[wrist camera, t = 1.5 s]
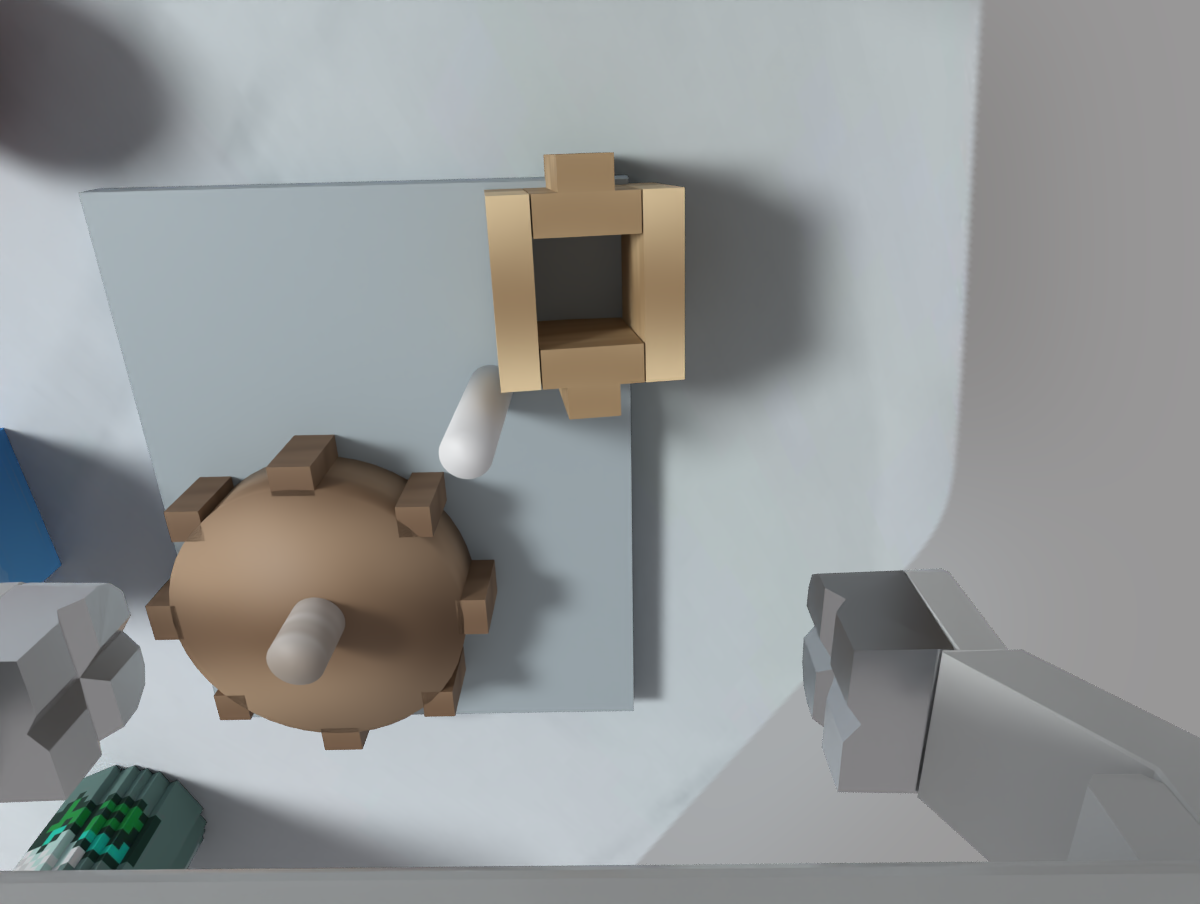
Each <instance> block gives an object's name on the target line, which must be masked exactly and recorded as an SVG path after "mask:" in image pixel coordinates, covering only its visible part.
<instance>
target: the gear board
mask: <svg viewBox="0 0 1200 904" xmlns="http://www.w3.org/2000/svg"><path fill="white" fill-rule="evenodd" d="M614 180H615V185H622V184H628V176H627V175H614ZM542 187H546V181H545V177H531V178H492V179H453V180H413V181H374V182H335V183H296V184H257V185H218V186H178V187H139V188H100V189H94V190H89V191H84V192H79V197H80V201H81V204H82V208H83V212H84V215H85V219H86V223H87V226H88V230H89V234H90V237H91V241H92V245H93V248H94V252H95V256H96V259H97V263H98V267H99V270H100V274H101V278H102V281H103V285H104V289H105V292H106V296H107V300H108V303H109V307H110V311H111V314H112V318H113V322H114V326H115V329H116V333H117V337H118V340H119V344H120V348H121V351H122V355H123V359H124V362H125V366H126V370H127V373H128V377H129V381H130V384H131V388H132V392H133V395H134V399H135V403H136V406H137V410H138V414H139V417H140V421H141V425H142V428H143V432H144V436H145V439H146V443H147V447H148V450H149V454H150V458H151V461H152V465H153V469H154V472H155V476H156V480H157V483H158V487H159V491H160V495H161V498H162V502H163V506H164V509H165V510H166V509H167V508H168V507H169V506H170V505H171V504H172V503H173V502H174V501H175V500H177V499H178V498H179V497H180V496H181V495H182V494H183V493H184V492H185V491H186V490H187V489H188V488H189V487H190V486H191V485H192V484H193V483H194V482H195V481H196V480H197V479H198V478H199V477H223V476H231V477H232V482H233V486H234V487H235V486H236V485H237V484H238V483H240V482H241V481H242V480H244V479H245V478H247V477H248V476H249V475H251V474H253V473H255V472H257V471H259V470H260V469H262V468H264V467H267V466H268V464H269V463H270V462H271V461H272V460H273V459H274V458H275V456H276V455H277V454H278V453H279V452H280V451H281V450H282V449H283V447H284V446H285V445H286V444H287V443H288V442H289V441H290V440H291V438H292V437H293V436H294V435H335V440H336V446H337V452H338V457H343V458H349V459H356V460H359V461H363V462H367V463H370V464H374V465H377V466H379V467H382V468H384V469H387V470H389V471H392V472H394V473H396V474H397V475H399V476H401V477H403V478H405V479H407V480H409V478H410V476H411V474H412V473H416V472H444V479H445V488H446V497H447V501H446V504H445V507H444V509H443V510H444V511H445V512H446V513H447V514H448V515H449V516H450V518H451V519H452V521H453V522H454V524H455V525H456V527H457V528H458V530H459V531H460V533H461V535H462V537H463V539H464V541H465V543H466V545H467V547H468V550H469V553H470V556H471V559H472V560H495V571H496V582H497V596H496V600H495V605H494V610H493V615H492V620H491V624H490V629H489V634H466V636H465V640H464V644H463V647H464V656H465V665H466V672H465V676H464V681H463V685H462V689H461V693H460V698H459V702H458V706H457V710H456V714H473V713H532V712H592V711H634V690H633V590H632V491H631V392H630V383H629V384H620V390H621V416H610V417H597V418H584V419H571V420H569V417H568V414H567V411H566V408H565V405H564V402H563V399H562V397H561V394H560V391H559V389H547V390H543V388H542V385H541V390H533V391H519V392H505V393H501V387H500V377H499V366H498V355H497V343H496V331H495V318H494V306H493V294H492V281H491V269H490V257H489V244H488V232H487V220H486V207H485V195H484V190H491V189H516V188H521V189H523V188H542ZM532 251H533V266H534V282H535V298H536V314H537V321H549V320H565V319H590V318H619V317H621V318H622V259H621V235H601V236H581V237H562V238H542V239H533V237H532ZM183 544H184V542H174V546H175V550H176V553H177V555H178V553H179V551H180V549H181V547H182V545H183ZM212 686H213V689H214V693H216V692H217V690H218V689H217V688H216V687H215V686H214V685H213V684H212ZM414 714H424V709H423V708H422V709H420V710H419V711H417V712H415V713H414ZM412 715H413V714H412ZM252 717H261V716H259V715H257V714H255V713H254V714H253V716H252Z"/></svg>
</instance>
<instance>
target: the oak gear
mask: <svg viewBox="0 0 1200 904" xmlns="http://www.w3.org/2000/svg"><path fill="white" fill-rule="evenodd" d="M544 171H545V181H546V187H542V188H523V189H521V188H516V189H491V190H484V195H485V207H486V220H487V232H488V244H489V257H490V269H491V281H492V294H493V306H494V318H495V331H496V343H497V355H498V366H499V377H500V387H501V393H505V392H519V391H533V390H541V385H542V388H543V390H547V389H559V391H560V394H561V397H562V399H563V402H564V405H565V408H566V411H567V414H568V417H569V420H571V419H584V418H597V417H610V416H621V390H620V384H629V383H643V382H645V381H646V382H657V381H671V380H684V379H685V187H679V186H672V185H666V184H660V183H653V182H652V183H629V184H622V185H615V180H614V152H613V153H576V154H550V155H544ZM601 235H621V259H622V318H621V317H619V318H590V319H565V320H549V321H537V314H536V298H535V282H534V266H533V251H532V237H533V239H542V238H562V237H581V236H601Z"/></svg>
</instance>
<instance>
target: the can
mask: <svg viewBox="0 0 1200 904" xmlns="http://www.w3.org/2000/svg"><path fill="white" fill-rule="evenodd" d="M202 810H203V808H202V806H201V805H200V804H199V803H198V802H197V801H196V800H195V799H194V798H193V797H192V796H191V795H190V794H189V792H188V791H187V790H186V789H185V788H184V787H183V786H182V785H181V784H180V783H179V782H178V781H177V780H176V781H174V782H171V783H170V782H169V781H168V780H167V779H166V778H165V777H164V776H163V775H162V774H161V772H160V771H159V772H157V773H154V774H152V773H151V772H150V771H149V770H148V769H144V770H142V771H140V770H139V769H138V768H137V767H136V766H135V765H134V766H132V767H129V768H127V769H125V770H122V771H121V770H120V769H119V768H118V767H117V766H116V765H115V766H112V767H110V768H107V769H105V770H103V771H100V772H98V773H95V774H93V775H91V776H88V777H86V778H83V780H82V781H81V782H80V783H79V785H78V786H77V787H76V788H75V790H74V791H73V792H72V793H71V795H70V796H69V797H68V799H67V800H66V801H65V802H64V803H63V805H62V806H61V807H60V809H59V810H58V811H57V813H56V814H55V815H54V817H53V818H52V819H51V821H50V822H49V823H48V825H47V826H46V827H45V829H44V830H43V831H42V832H41V834H40V835H39V836H38V838H37V839H36V840H35V842H34V843H33V844H32V846H31V847H30V848H29V850H28V851H27V852H26V854H25V855H24V856H23V858H22V859H21V860H20V862H19V863H18V864H17V866H16V867H15V868H14V870H13V871H47V870H157V869H188V867H189V865H190V863H191V861H192V859H193V857H194V855H195V853H196V852H197V850H198V848H199V846H200V844H201V842H202V840H203V837H202V835H203V834H204V832H205V829H204V827H205V825H206V823H207V822H206V821H205V820H204V819H203V817H202V816H201V815H200V814H201V812H202Z"/></svg>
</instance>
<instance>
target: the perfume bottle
mask: <svg viewBox="0 0 1200 904" xmlns="http://www.w3.org/2000/svg"><path fill="white" fill-rule="evenodd" d="M60 566H61V562H60V560H59V558H58V555H57V553H56V551H55V548H54V546H53V543H52V541H51V539H50V536H49V534H48V532H47V529H46V527H45V525H44V522H43V520H42V517H41V515H40V513H39V510H38V508H37V506H36V503H35V501H34V498H33V496H32V494H31V491H30V489H29V487H28V484H27V482H26V480H25V477H24V475H23V472H22V470H21V468H20V465H19V463H18V461H17V458H16V456H15V453H14V451H13V449H12V446H11V444H10V442H9V439H8V437H7V435H6V432H5V430H4V428H0V583H6V582H24V583H42V582H43V581H44V580H45V579H46V578H48V577H49V576H50V575H51V574H52V573H53V572H54V571H55V570H57V569H58V568H59V567H60Z"/></svg>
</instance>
